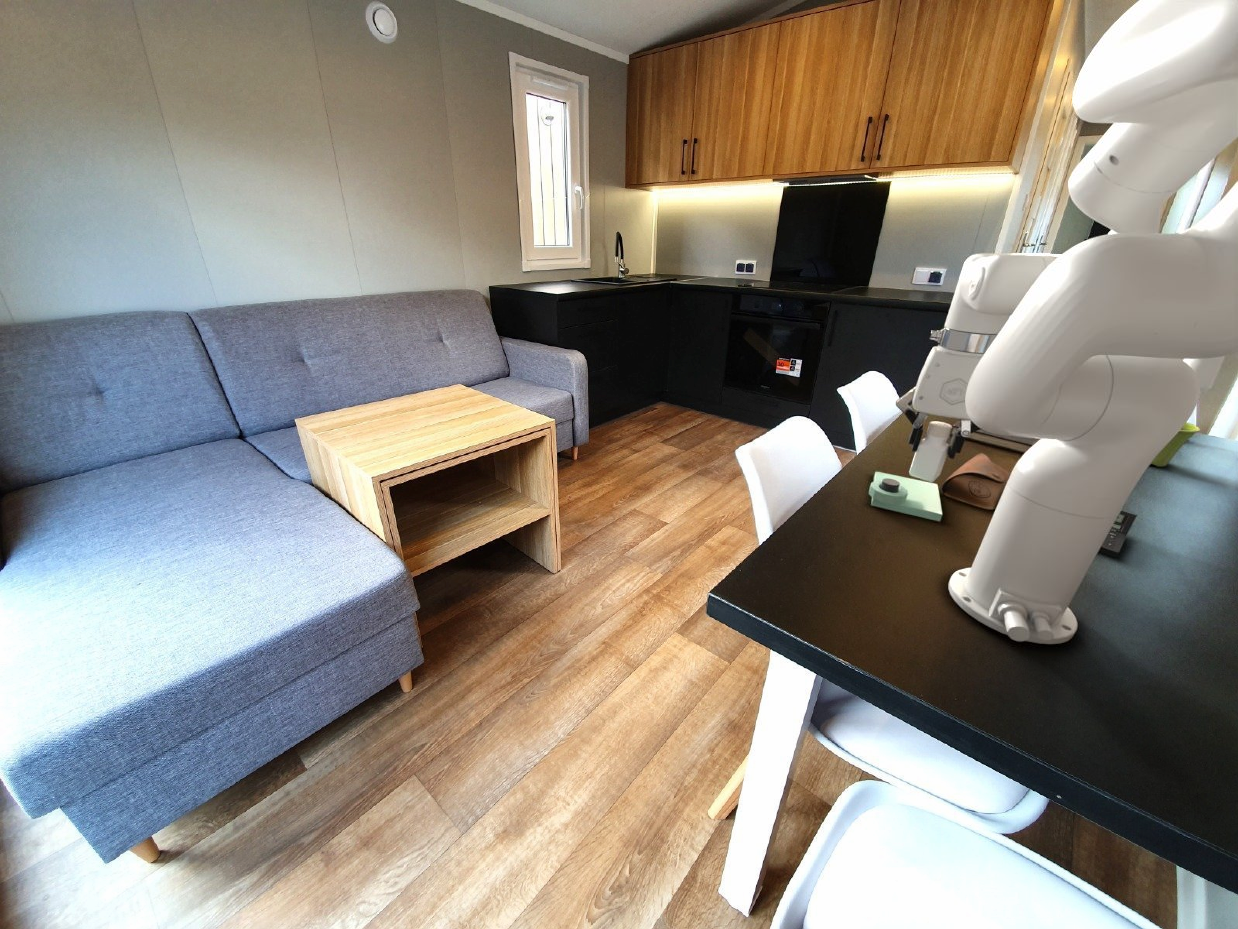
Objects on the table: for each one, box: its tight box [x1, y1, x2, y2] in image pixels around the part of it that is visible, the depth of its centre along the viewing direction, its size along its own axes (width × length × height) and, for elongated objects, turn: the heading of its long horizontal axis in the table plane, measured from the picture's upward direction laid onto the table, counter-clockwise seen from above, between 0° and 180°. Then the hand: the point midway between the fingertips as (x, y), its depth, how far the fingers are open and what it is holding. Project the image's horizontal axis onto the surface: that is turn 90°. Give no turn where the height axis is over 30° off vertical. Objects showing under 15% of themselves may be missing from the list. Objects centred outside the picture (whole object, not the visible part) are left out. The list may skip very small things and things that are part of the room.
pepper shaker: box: [908, 421, 953, 483], centre depth 82 cm, size 4×4×10 cm
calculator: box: [1098, 510, 1137, 558], centre depth 76 cm, size 9×12×3 cm
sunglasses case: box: [941, 452, 1011, 511], centre depth 89 cm, size 18×7×7 cm, turn 132°
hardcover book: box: [949, 419, 1040, 455], centre depth 115 cm, size 16×23×2 cm
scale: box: [868, 470, 943, 522], centre depth 84 cm, size 13×11×3 cm
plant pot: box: [1150, 421, 1201, 467], centre depth 101 cm, size 9×9×9 cm
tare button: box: [880, 478, 900, 493], centre depth 81 cm, size 3×3×2 cm
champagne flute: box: [1182, 356, 1226, 395], centre depth 112 cm, size 7×7×24 cm
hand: (932, 451), depth 82 cm, fingers closed on pepper shaker, 4 cm apart
